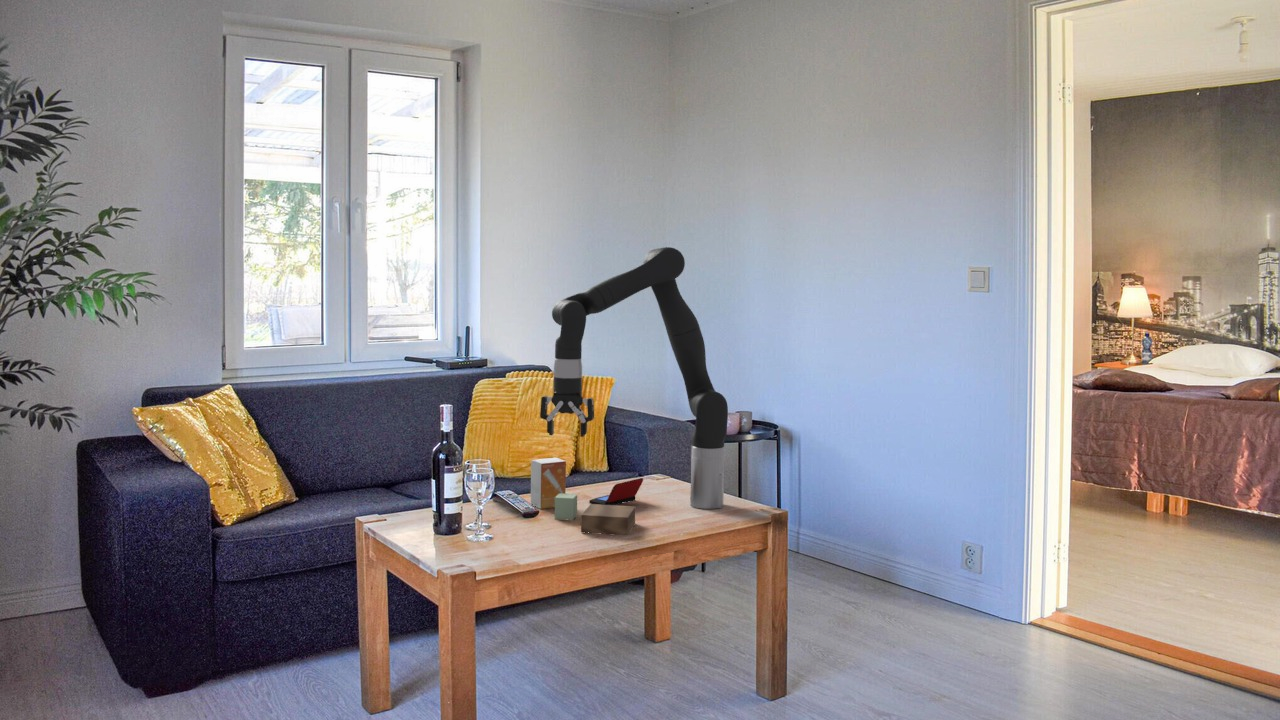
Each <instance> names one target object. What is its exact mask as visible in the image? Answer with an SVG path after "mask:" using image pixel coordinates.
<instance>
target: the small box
mask: <svg viewBox="0 0 1280 720" xmlns="http://www.w3.org/2000/svg"><path fill="white" fill-rule="evenodd" d="M566 473H567V461H566V460H564V459H561V458H559V457H556V456H555V457H549V458H546V457H545V458H540V459H539V458H538V459H537V458H536V459H531V460H530V505H531V504H533V505H534V506H533V505H532V506H533V507H535V506H536V507H535V508H537V509H540V510H543V509H549V508H555V497H556V496H557V495H558V494H559V493H562V494H566V487H567V486H566V485H567V484H566V481H567V480H566V478H567V474H566Z"/></svg>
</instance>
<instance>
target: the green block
mask: <svg viewBox="0 0 1280 720" xmlns="http://www.w3.org/2000/svg"><path fill="white" fill-rule="evenodd" d="M577 516H578V494H577V493H576V494H575V493H565V494H562V493H559V494H558V495H557V496H556V497H555V507H554V520H558V519H568V520H567V521H574V520H575V519H576V518H577ZM575 517H576V518H575ZM574 518H575V519H574ZM573 519H574V520H573Z"/></svg>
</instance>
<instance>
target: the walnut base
mask: <svg viewBox="0 0 1280 720" xmlns="http://www.w3.org/2000/svg"><path fill="white" fill-rule="evenodd" d="M580 516H581V517H580V533H581V532H585V533H584V534H592V533H601V534H600V535H609V534H614V536H629V534H630V532H631V531H632V529H633V528H634V526H635V525H636V506H633V505H632V506H631V505H630V506H629V505H619V504H618V505H600V504H590V503H589V506H588V507H587V508H586V509H585V510H584V511H583V512H582V514H581V515H580ZM634 524H635V525H634ZM632 527H633V528H632ZM630 530H631V531H630ZM588 532H589V533H588Z"/></svg>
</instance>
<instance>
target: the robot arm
mask: <svg viewBox="0 0 1280 720" xmlns="http://www.w3.org/2000/svg"><path fill="white" fill-rule="evenodd" d="M685 261H686V260H685V257H684V255H683V254H682V252H681V251H680V250H678V249H677V248H674V247H670V246H665V247H661V248H660V247H659V248H654V249H652V250H649V251H648V252H647V253H646V254H645V256H644V259H643V264H641V265H639V266H637V267H634V268H633V269H631V270H628V271H626V272H623V273H621V274H617V275H615V276H612V277H610V278H607V279H606V280H602V281H601V282H599V283H597V284H594V285H593V286H591V287H590V288H588V289H586V290H584V291H582V292H578V293H576V294H573V295H570V296H567V297H565V298H563V299H561V300H559V301H558V302H556V304H555V305H554V306H553V308H552V311H551V318H552V319H553V321H554V322H555V323H556V324H557V325H559V326H561V327H560V335H559V336H558V337H557V338H556V339H555V344H554V347H555V348H554V364H553V371H552V372H553V391H552V393H553V395H552V396H548V395H543V396H542V397H541V400H540V412H539V417H540V419H543V420H545V421H546V432H547V434H548V435H549V436H553V435H554V434H555V431H554V430H555V429H554V428H555V426H554V425H555V424H554V423H555V420H554V418H555V417H556V416H557V415H558V414H559V413H560V414H569V415H572V414H575V416H576V417H577V418H578V419H579V421H580V435H579V436H580V437H581V438H584V437H585V436H586V435H587V434H588V433H587V432H588V422H592V421H593V420H594V419H595V407H594V403H595V402H594V398H593V397H589V398H583V395H582V394H583V392H582V391H583V362H582V352H583V351H582V341H583V338H584V334H585V329H586V323H587V316H590V315H594V314H599V313H601V312H603V311H605V310H608V309H609V308H611V307H613V306H615V305H617V304H619V303H621V302H623V301H624V300H626V299H629V298H630V297H632V296H633V295H635V294H637V293H640V292H641V291H643V290H646V289H648V288H651V290H652V291H653V294H654V297H655V299H656V302H657V305H658V308H659V311H660V312H659V313H660V314H661V317H662V320H663V323H664V326H665V330H666V334H667V336H668V340H669V343H670V346H671V349H672V351H673V352H672V353H673V354H674V357H675V360H676V363H677V366H678V368H679V370H680V373H681V375H682V378H683V382H684V386H685V390H686V396H687V400H688V407H689V409H690V412H691V414H692V415H693V416H694V417H695V430H694V434H693V435H692V437H691V455H690V456H691V459H690V503H689V504H690V506H691V507H693V508H697V509H705V510H707V509H708V510H715V509H722V508H723V506H724V492H725V491H724V490H725V487H724V486H725V485H724V484H725V471H724V470H725V469H724V464H725V461H724V460H725V459H724V458H725V441H726V438H727V433H728V418H729V407H728V402H727V400H726V398H725V396H724V395H722V393H720V392H719V391H716V389H715V388H714V386H713V384H712V380H711V378H710V375H709V373H708V369H707V358H706V355H707V354H706V345H705V344H706V343H705V340H704V336H703V333H702V331H701V326H700V324H699V321H698V320H697V318H696V316H695V314H694V313H693V311H692V309H691V308H690V306H689V305H688V303H687V302H686V301H685V300H684V298H683V297H682V295H681V292H680V290H679V287H678V283H677V280H676V279H677V278H679V277H680V276H681V275H682V273H683V271H684V270H685V265H686V264H685V263H686V262H685ZM551 402H552V404H553V405H554V408H553V409H552V410H551V412H550V414H548V406H549V405H550V403H551ZM583 403H584V405H585V406H586V407H587V416H586V414H585V413H584V410H582V408H581V406H582V405H583Z"/></svg>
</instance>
